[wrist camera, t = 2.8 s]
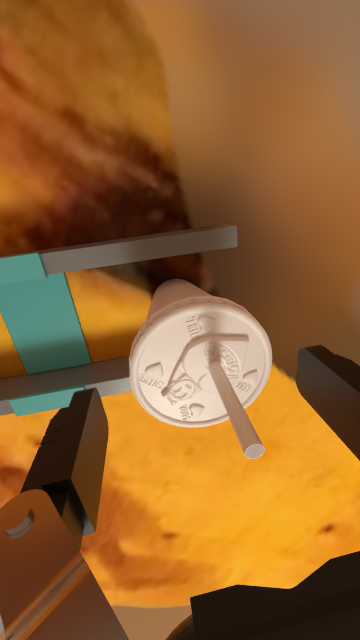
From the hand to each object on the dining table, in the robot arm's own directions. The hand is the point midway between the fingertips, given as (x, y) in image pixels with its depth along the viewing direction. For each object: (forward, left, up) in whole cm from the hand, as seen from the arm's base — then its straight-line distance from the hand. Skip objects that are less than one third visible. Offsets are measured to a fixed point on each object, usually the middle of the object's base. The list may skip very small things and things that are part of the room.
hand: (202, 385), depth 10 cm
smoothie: (0, 0, -11) cm, 11 cm away
